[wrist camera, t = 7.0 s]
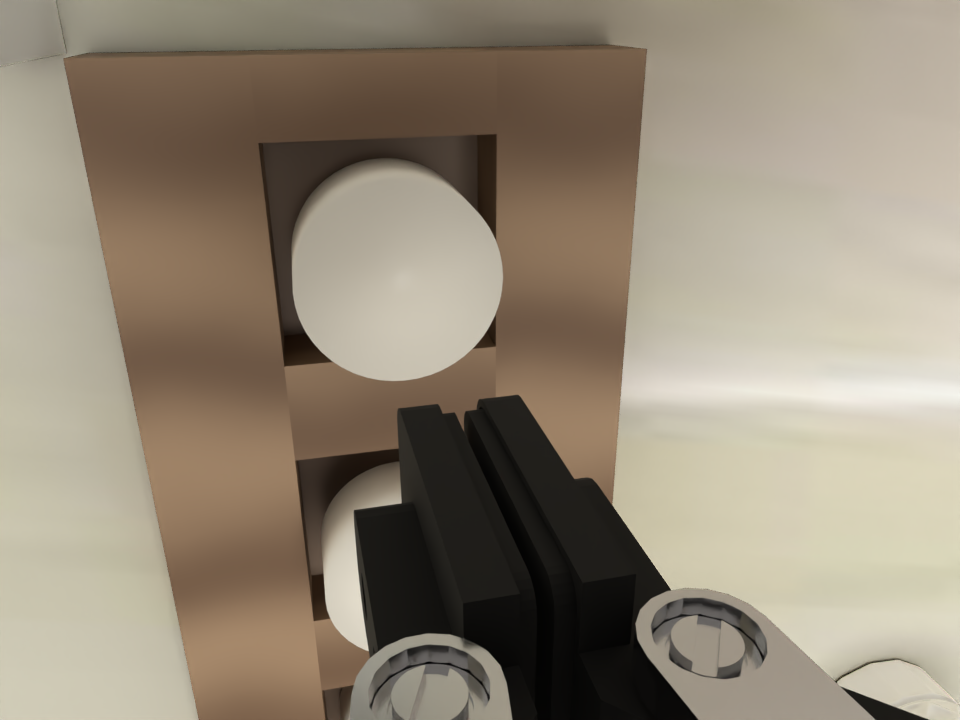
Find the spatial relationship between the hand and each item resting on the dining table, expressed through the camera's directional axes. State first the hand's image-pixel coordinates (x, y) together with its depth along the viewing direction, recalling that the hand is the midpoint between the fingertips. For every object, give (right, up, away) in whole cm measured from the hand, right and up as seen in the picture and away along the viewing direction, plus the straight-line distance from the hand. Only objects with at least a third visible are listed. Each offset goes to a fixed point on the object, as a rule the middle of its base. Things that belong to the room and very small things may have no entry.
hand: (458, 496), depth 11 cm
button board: (-3, -3, +16) cm, 16 cm away
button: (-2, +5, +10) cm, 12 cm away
